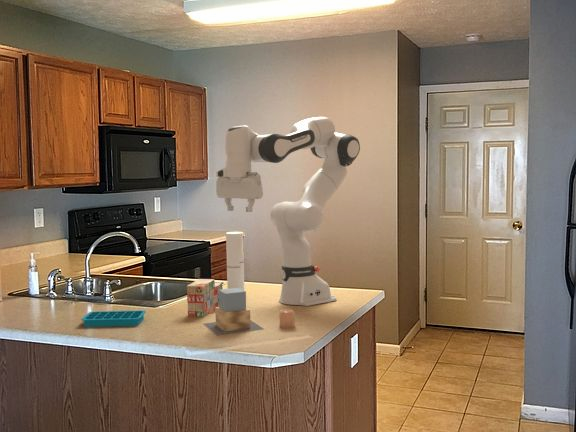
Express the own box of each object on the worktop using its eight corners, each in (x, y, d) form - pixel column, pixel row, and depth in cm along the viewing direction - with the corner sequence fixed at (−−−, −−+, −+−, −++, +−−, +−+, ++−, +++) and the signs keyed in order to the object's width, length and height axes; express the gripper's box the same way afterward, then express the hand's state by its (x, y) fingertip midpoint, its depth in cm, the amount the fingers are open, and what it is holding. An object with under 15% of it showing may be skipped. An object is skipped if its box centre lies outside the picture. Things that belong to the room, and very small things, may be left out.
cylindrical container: (247, 290, 271) (246, 232, 269) (235, 293, 266) (234, 234, 264) (236, 288, 276) (234, 231, 274) (224, 291, 271) (222, 233, 268)
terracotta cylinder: (290, 326, 213) (290, 308, 212) (297, 330, 208) (296, 312, 208) (277, 328, 211) (276, 310, 210) (283, 331, 206) (282, 313, 206)
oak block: (241, 321, 216) (240, 304, 216) (250, 327, 208) (250, 309, 208) (215, 324, 213) (215, 307, 212) (224, 331, 205) (223, 313, 204)
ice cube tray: (139, 327, 217) (139, 318, 216) (80, 328, 216) (80, 319, 216) (147, 318, 228) (146, 310, 228) (90, 319, 228) (90, 311, 228)
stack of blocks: (208, 305, 246) (207, 274, 245) (223, 306, 245) (222, 274, 243) (187, 319, 225) (186, 285, 224) (204, 320, 224) (203, 285, 223)
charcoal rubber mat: (247, 320, 221) (247, 318, 221) (264, 332, 206) (264, 329, 206) (202, 326, 215) (202, 323, 214) (217, 338, 200) (217, 335, 200)
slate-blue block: (238, 305, 214) (238, 287, 214) (246, 309, 208) (245, 291, 208) (219, 307, 212) (218, 289, 211) (225, 312, 205) (225, 293, 205)
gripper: (266, 171, 219) (267, 212, 220) (225, 171, 232) (226, 209, 233) (253, 172, 214) (254, 213, 215) (212, 172, 227) (213, 210, 229)
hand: (239, 211), depth 224 cm, fingers open, 8 cm apart
